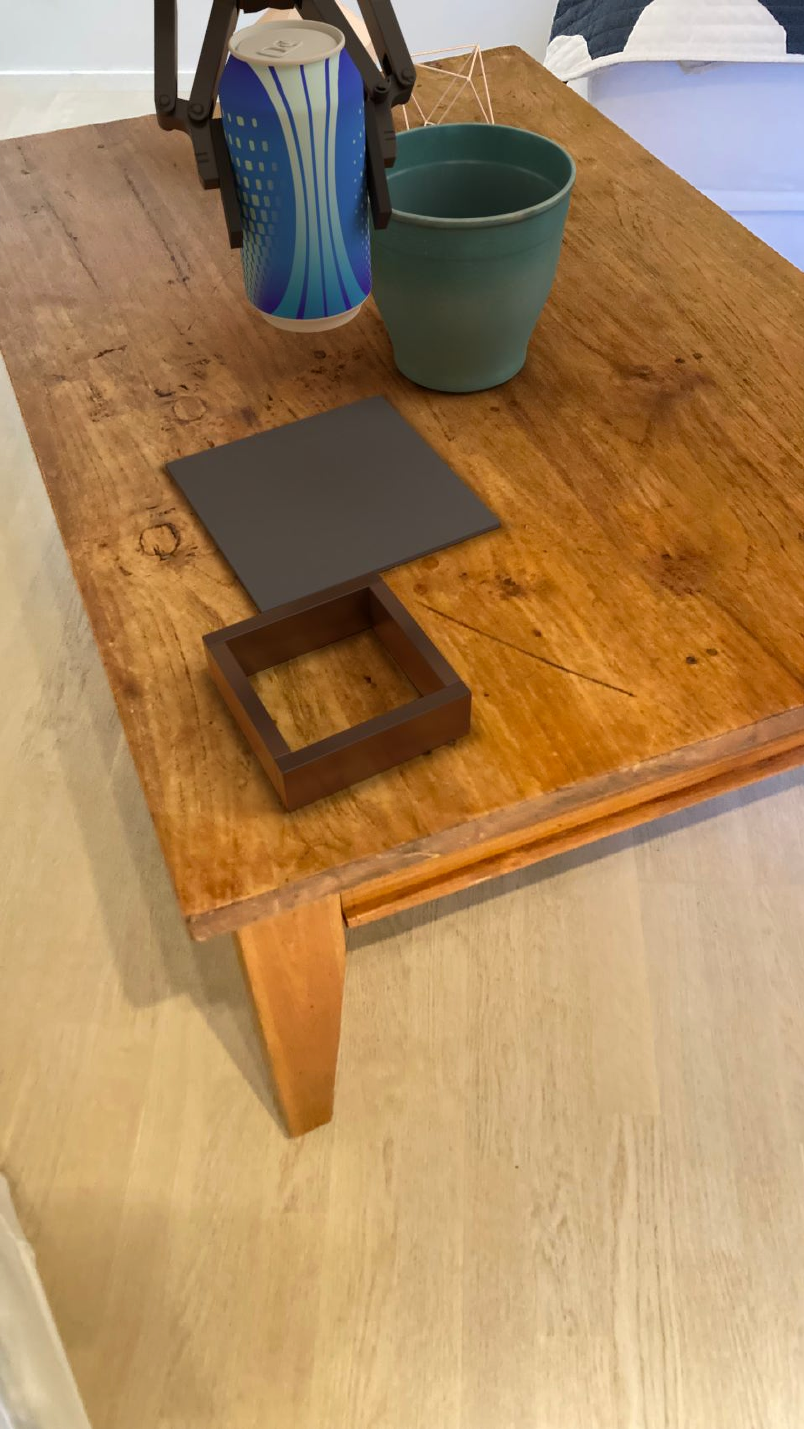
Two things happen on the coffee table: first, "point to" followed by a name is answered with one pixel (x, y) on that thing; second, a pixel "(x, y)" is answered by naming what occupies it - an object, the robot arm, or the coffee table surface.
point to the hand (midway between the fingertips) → (310, 230)
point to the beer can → (298, 172)
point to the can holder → (359, 746)
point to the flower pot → (468, 249)
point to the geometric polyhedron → (452, 83)
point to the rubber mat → (327, 501)
